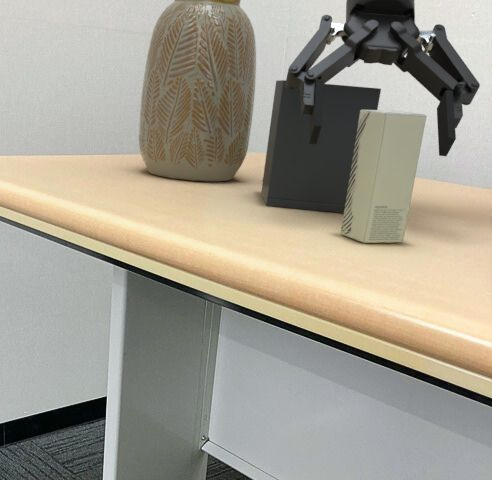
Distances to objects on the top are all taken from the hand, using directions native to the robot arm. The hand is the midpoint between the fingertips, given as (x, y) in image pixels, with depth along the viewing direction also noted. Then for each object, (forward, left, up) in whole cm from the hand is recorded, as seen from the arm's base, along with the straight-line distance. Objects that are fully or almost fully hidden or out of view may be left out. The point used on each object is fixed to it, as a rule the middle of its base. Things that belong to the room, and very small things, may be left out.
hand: (380, 141), depth 78 cm
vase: (+42, +10, -10) cm, 44 cm away
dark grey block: (+20, -1, -10) cm, 22 cm away
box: (-3, +1, -10) cm, 10 cm away
